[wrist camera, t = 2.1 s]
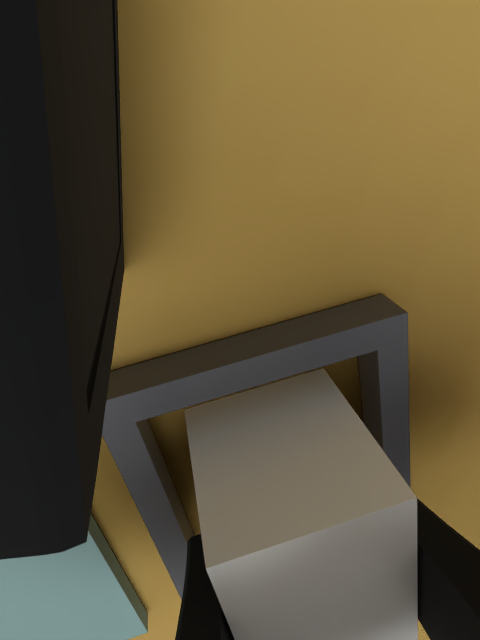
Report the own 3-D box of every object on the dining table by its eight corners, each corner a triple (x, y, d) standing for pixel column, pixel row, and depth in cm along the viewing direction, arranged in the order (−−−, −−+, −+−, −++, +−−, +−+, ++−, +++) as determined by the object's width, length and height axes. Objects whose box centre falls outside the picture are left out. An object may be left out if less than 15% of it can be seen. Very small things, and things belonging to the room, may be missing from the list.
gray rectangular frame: (381, 293, 11) (407, 312, 10) (392, 526, 15) (411, 556, 14) (93, 375, 10) (87, 405, 9) (193, 594, 15) (196, 631, 14)
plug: (323, 368, 12) (417, 497, 8) (342, 508, 14) (418, 657, 10) (183, 409, 11) (206, 568, 7) (231, 545, 14) (265, 714, 10)
